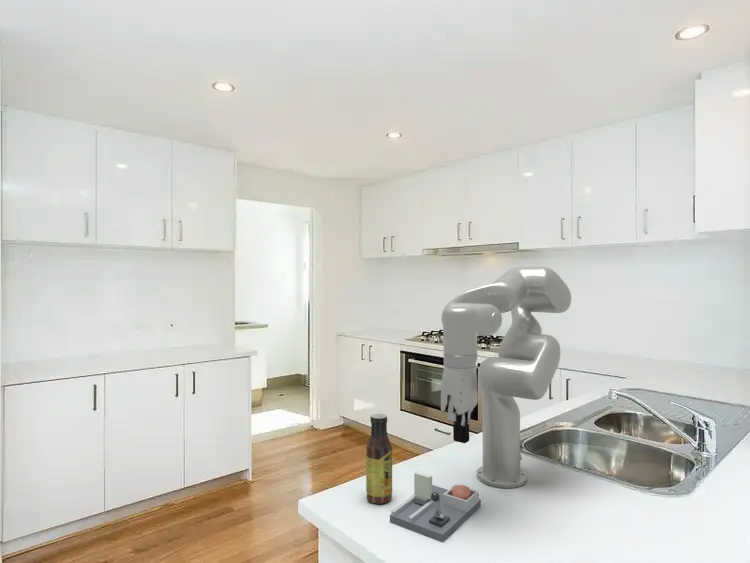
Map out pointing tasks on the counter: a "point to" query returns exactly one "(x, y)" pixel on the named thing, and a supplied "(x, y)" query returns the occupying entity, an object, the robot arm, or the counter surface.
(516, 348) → the robot arm
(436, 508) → the toggle
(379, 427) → the sauce bottle
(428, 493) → the pale green block
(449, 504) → the panel
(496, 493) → the counter surface
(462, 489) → the button
